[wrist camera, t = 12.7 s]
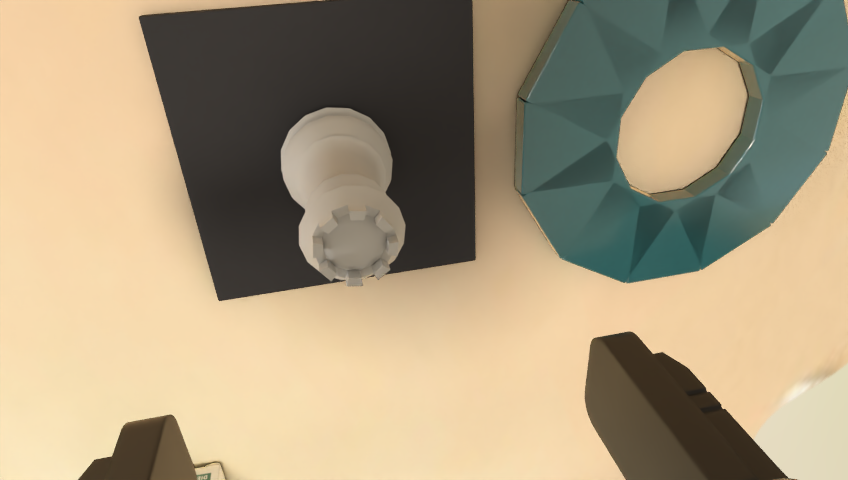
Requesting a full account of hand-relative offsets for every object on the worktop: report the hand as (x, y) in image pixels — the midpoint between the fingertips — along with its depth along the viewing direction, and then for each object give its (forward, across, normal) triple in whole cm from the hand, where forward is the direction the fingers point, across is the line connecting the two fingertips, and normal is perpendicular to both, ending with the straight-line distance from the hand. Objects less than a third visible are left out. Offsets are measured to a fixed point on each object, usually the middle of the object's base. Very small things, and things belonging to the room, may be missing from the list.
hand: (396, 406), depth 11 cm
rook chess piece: (+15, 0, 0) cm, 15 cm away
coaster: (+15, 0, 0) cm, 15 cm away
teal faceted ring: (+15, -16, +1) cm, 22 cm away
